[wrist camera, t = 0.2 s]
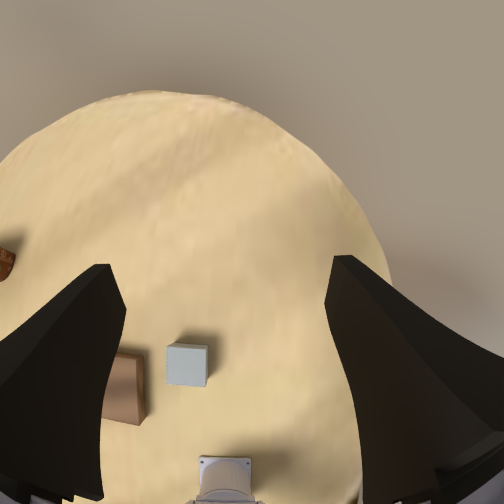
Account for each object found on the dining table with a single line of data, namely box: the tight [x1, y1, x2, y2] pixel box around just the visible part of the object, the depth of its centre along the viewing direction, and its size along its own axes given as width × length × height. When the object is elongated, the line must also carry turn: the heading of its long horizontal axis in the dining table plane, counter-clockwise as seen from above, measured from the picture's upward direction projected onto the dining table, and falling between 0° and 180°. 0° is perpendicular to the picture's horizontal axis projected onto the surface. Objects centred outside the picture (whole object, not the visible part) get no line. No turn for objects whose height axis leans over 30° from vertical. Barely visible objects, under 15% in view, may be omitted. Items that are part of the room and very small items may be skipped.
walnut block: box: [101, 352, 146, 426], centre depth 32 cm, size 10×10×4 cm
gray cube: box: [166, 343, 208, 387], centre depth 34 cm, size 5×5×5 cm
